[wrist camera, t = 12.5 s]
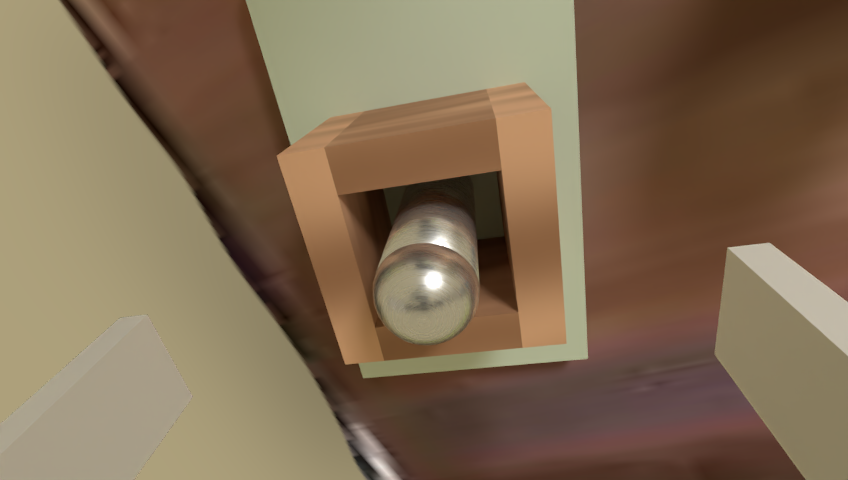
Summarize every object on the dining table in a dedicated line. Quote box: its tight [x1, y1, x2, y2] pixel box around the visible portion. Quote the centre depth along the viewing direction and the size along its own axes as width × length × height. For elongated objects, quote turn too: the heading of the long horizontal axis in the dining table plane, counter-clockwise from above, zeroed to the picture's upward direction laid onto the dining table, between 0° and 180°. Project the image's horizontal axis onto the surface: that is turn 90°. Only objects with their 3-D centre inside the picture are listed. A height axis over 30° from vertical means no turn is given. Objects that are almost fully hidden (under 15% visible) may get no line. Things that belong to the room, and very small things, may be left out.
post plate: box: [246, 0, 588, 378], centre depth 21 cm, size 20×12×2 cm, turn 11°
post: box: [373, 175, 480, 345], centre depth 16 cm, size 3×3×10 cm
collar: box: [277, 82, 567, 365], centre depth 17 cm, size 8×8×6 cm
